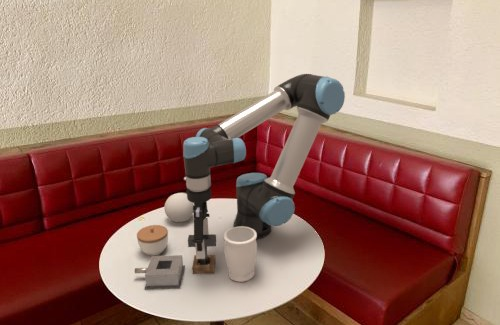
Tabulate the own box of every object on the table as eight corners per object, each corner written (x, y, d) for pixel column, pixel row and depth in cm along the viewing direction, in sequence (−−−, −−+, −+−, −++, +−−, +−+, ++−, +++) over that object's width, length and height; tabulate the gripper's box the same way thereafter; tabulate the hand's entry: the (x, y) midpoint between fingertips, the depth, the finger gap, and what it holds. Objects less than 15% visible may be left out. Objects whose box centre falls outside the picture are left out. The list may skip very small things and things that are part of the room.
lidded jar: (162, 261, 131) (159, 237, 128) (133, 257, 133) (130, 234, 130) (174, 244, 141) (171, 222, 138) (147, 241, 143) (144, 219, 140)
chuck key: (217, 264, 129) (216, 234, 125) (217, 269, 126) (215, 238, 122) (191, 265, 129) (188, 235, 124) (190, 270, 126) (187, 239, 122)
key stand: (215, 260, 131) (214, 254, 130) (213, 273, 124) (213, 267, 123) (195, 261, 130) (194, 255, 130) (192, 274, 124) (192, 267, 123)
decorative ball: (200, 219, 158) (199, 193, 154) (178, 230, 150) (175, 203, 146) (182, 210, 166) (180, 186, 162) (160, 221, 157) (157, 195, 153)
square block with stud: (185, 266, 128) (184, 254, 126) (180, 288, 117) (178, 275, 116) (140, 268, 127) (138, 255, 126) (131, 289, 117) (129, 276, 115)
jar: (246, 288, 117) (245, 247, 111) (219, 277, 122) (216, 237, 117) (263, 270, 125) (263, 231, 120) (237, 261, 130) (236, 222, 125)
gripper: (191, 172, 129) (195, 227, 136) (180, 205, 105) (186, 269, 113) (213, 171, 129) (216, 226, 136) (207, 205, 105) (211, 268, 113)
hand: (202, 246), depth 124 cm, fingers open, 13 cm apart
